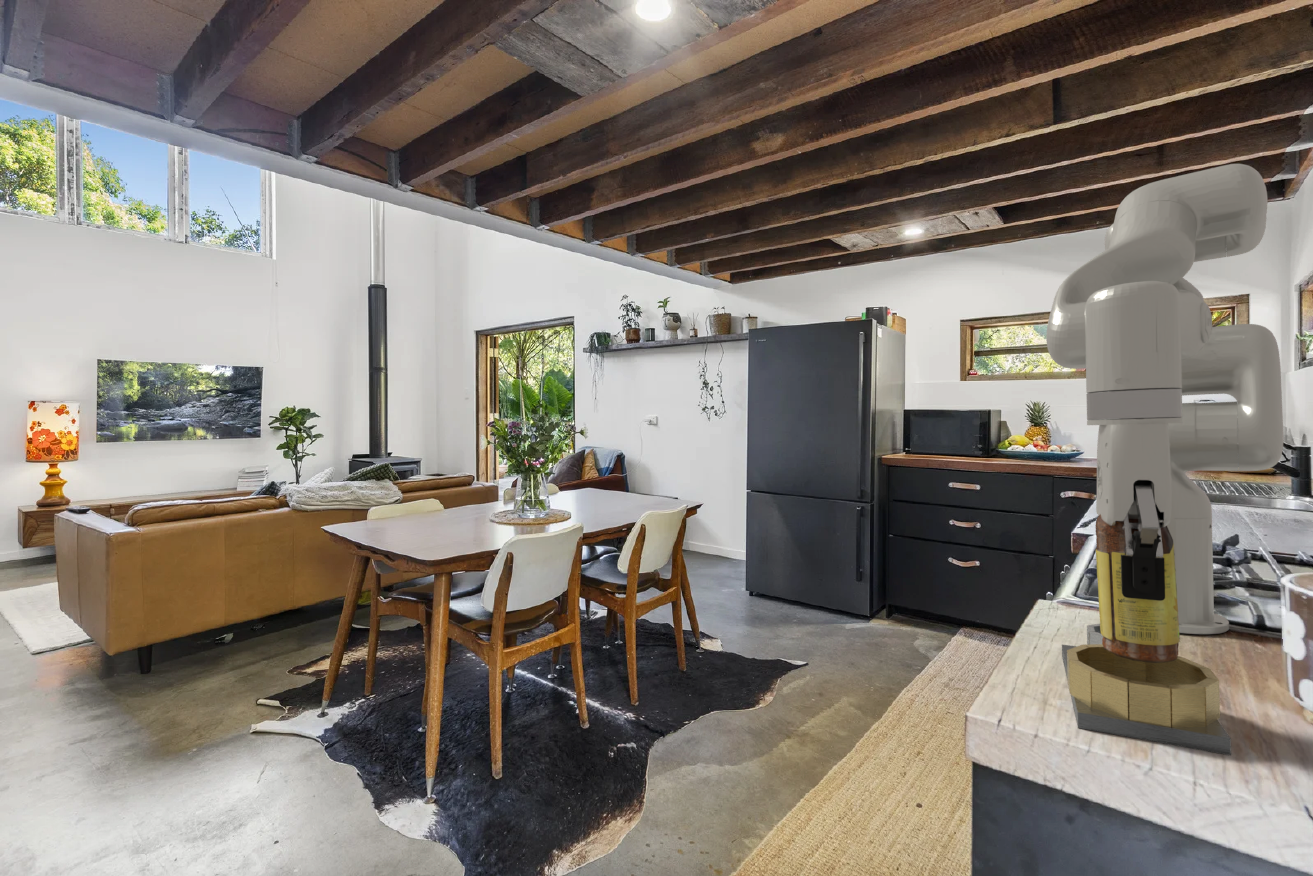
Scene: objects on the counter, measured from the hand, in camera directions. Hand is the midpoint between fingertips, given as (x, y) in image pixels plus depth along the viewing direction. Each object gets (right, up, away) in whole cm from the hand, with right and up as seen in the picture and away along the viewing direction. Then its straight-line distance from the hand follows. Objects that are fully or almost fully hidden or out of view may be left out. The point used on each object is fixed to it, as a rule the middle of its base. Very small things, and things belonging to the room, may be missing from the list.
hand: (1136, 588), depth 61 cm
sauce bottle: (0, -7, 0) cm, 7 cm away
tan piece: (+3, -13, +4) cm, 13 cm away
